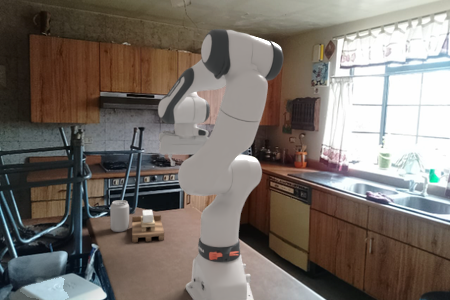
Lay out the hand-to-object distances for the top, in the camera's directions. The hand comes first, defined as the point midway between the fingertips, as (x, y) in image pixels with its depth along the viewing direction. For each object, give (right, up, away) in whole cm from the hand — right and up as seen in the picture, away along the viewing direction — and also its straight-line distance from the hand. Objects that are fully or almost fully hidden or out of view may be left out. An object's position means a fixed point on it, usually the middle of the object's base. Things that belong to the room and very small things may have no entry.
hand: (184, 165), depth 131 cm
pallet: (-16, -25, +4) cm, 30 cm away
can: (-28, -28, +8) cm, 40 cm away
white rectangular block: (-16, -22, +4) cm, 27 cm away
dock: (-16, -28, +4) cm, 33 cm away
